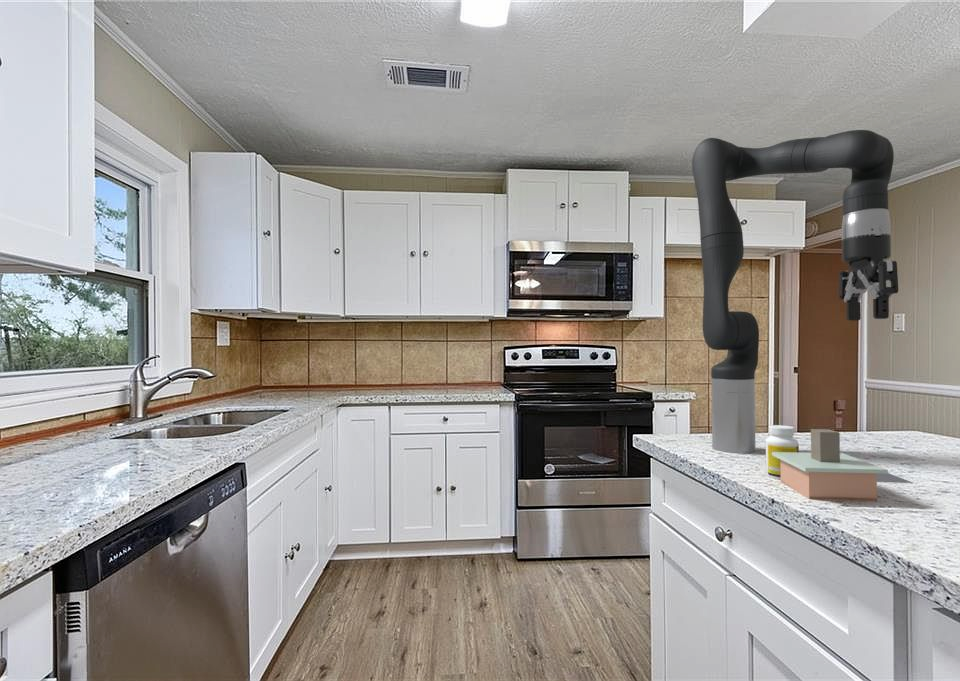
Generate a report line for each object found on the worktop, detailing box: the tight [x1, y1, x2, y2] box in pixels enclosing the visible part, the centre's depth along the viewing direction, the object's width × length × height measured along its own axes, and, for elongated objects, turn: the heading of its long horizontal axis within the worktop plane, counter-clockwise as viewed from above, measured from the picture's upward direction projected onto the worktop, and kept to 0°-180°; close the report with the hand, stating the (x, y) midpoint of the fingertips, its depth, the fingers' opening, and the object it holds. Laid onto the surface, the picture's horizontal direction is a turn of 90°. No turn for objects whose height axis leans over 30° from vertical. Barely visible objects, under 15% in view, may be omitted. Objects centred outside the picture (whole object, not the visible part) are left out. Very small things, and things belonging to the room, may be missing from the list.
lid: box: [772, 428, 889, 474], centre depth 85 cm, size 12×12×6 cm
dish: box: [780, 459, 878, 502], centre depth 85 cm, size 10×10×5 cm
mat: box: [877, 472, 914, 484], centre depth 96 cm, size 12×12×1 cm
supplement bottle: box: [765, 424, 800, 481], centre depth 95 cm, size 5×5×10 cm
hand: (866, 319), depth 97 cm, fingers open, 8 cm apart
